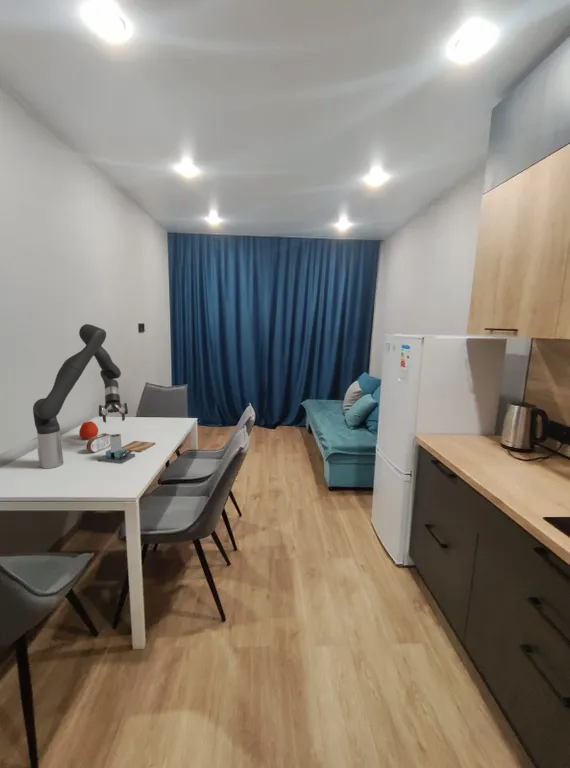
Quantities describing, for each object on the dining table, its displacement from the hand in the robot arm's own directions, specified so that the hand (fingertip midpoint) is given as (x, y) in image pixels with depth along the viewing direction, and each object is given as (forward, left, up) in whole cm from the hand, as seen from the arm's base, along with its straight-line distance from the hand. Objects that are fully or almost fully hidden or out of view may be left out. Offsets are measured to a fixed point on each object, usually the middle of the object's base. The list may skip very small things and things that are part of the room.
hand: (114, 421), depth 187 cm
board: (+6, +10, -17) cm, 21 cm away
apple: (-33, +17, -18) cm, 41 cm away
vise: (+7, -8, -17) cm, 20 cm away
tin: (-11, +1, -18) cm, 21 cm away
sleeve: (+7, -8, -13) cm, 17 cm away
